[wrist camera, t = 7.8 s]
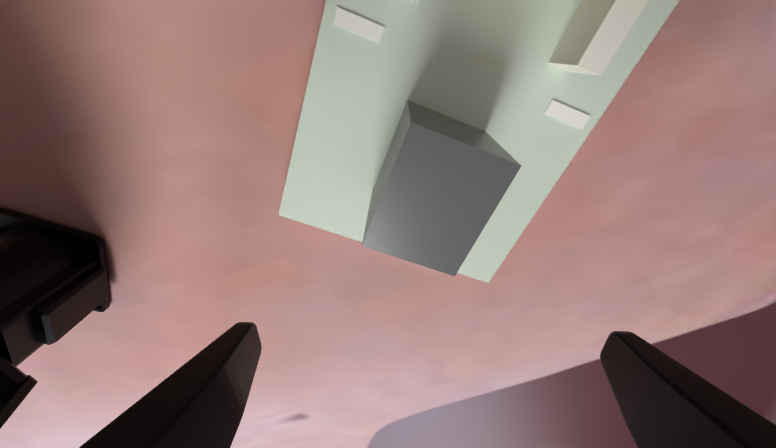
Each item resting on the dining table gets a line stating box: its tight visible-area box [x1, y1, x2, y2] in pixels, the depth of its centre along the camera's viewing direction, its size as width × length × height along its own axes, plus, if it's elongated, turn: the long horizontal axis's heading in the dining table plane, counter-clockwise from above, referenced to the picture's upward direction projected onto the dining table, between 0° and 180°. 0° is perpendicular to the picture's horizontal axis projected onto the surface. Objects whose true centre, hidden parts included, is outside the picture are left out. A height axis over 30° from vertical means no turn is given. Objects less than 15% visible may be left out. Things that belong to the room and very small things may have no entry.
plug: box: [362, 100, 521, 276], centre depth 14 cm, size 4×5×5 cm
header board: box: [279, 0, 679, 283], centre depth 14 cm, size 17×13×4 cm
